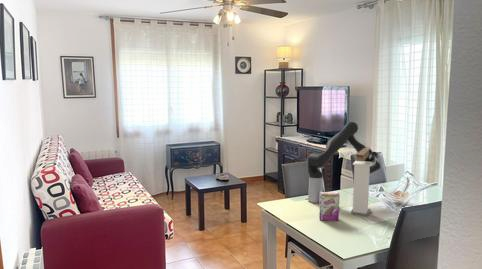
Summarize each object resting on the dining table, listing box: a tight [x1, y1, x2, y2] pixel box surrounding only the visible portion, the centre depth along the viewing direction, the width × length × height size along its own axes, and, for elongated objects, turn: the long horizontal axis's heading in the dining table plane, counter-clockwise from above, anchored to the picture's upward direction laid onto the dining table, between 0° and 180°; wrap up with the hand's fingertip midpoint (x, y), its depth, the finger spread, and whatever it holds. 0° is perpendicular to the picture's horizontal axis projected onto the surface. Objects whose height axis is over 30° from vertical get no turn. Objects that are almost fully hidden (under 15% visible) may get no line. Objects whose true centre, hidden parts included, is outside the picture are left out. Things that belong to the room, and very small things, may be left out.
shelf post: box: [350, 160, 373, 217], centre depth 226 cm, size 10×10×32 cm
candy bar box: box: [318, 191, 341, 222], centre depth 216 cm, size 11×5×16 cm, turn 84°
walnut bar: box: [355, 147, 372, 162], centre depth 225 cm, size 24×4×4 cm, turn 151°
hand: (365, 150), depth 231 cm, fingers closed on walnut bar, 4 cm apart
